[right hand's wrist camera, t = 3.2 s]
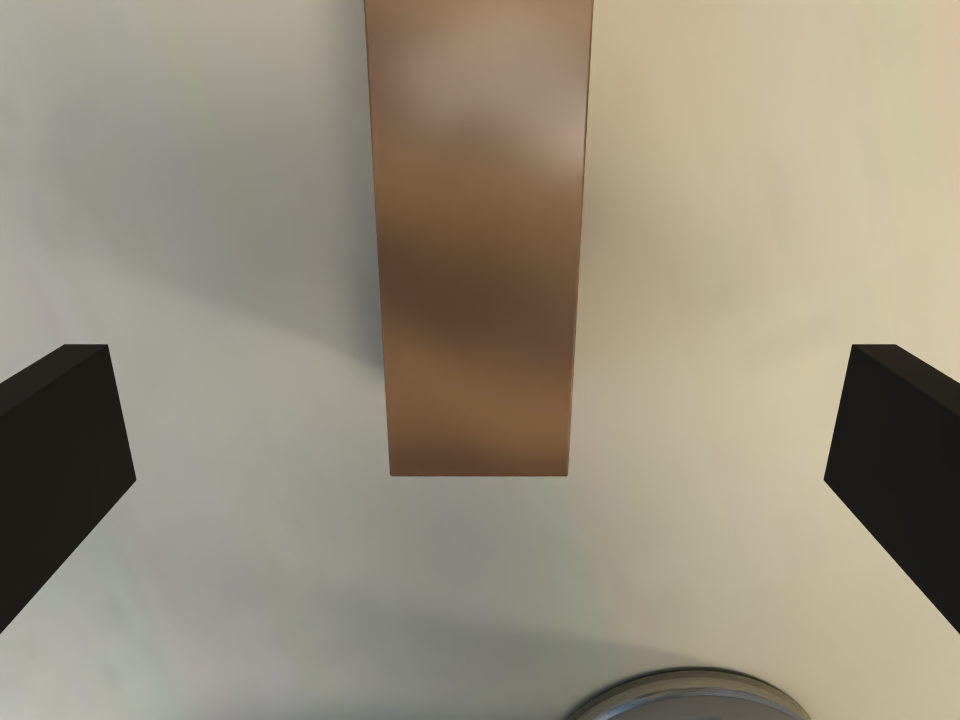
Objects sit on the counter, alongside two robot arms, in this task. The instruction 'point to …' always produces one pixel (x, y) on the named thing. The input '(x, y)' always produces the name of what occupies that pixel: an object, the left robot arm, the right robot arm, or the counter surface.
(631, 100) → the counter surface
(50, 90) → the counter surface
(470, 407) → the post
